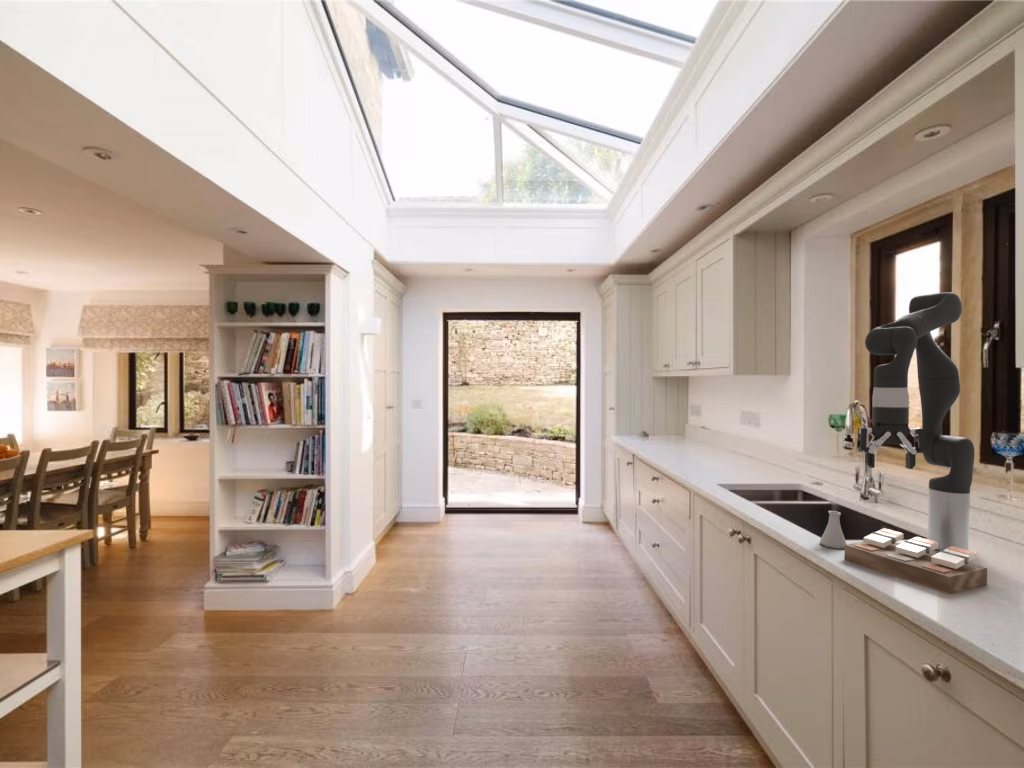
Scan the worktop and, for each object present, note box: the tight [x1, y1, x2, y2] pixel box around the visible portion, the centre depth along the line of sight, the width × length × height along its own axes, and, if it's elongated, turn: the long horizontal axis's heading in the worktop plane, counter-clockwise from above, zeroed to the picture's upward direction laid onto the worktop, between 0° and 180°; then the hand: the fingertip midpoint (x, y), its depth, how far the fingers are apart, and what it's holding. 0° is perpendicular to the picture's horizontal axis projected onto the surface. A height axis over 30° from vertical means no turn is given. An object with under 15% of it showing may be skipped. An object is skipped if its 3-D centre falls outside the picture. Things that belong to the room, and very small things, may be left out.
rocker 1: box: [863, 527, 904, 548], centre depth 138 cm, size 9×5×2 cm, turn 114°
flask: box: [819, 510, 848, 550], centre depth 150 cm, size 7×7×10 cm
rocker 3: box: [931, 546, 977, 569], centre depth 123 cm, size 9×5×2 cm, turn 114°
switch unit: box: [844, 541, 988, 595], centre depth 130 cm, size 16×24×4 cm, turn 24°
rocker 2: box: [895, 536, 938, 558], centre depth 131 cm, size 9×5×2 cm, turn 114°
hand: (889, 467), depth 130 cm, fingers open, 8 cm apart
